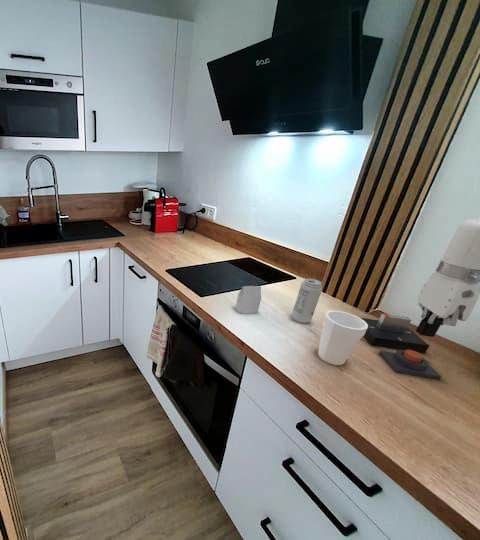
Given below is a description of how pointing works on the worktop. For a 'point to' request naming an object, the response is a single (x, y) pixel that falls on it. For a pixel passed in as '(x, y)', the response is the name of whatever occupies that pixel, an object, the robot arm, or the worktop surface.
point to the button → (413, 356)
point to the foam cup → (340, 336)
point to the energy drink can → (307, 300)
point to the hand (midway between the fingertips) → (424, 334)
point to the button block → (409, 365)
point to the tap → (393, 323)
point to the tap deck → (394, 338)
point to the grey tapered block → (249, 299)
